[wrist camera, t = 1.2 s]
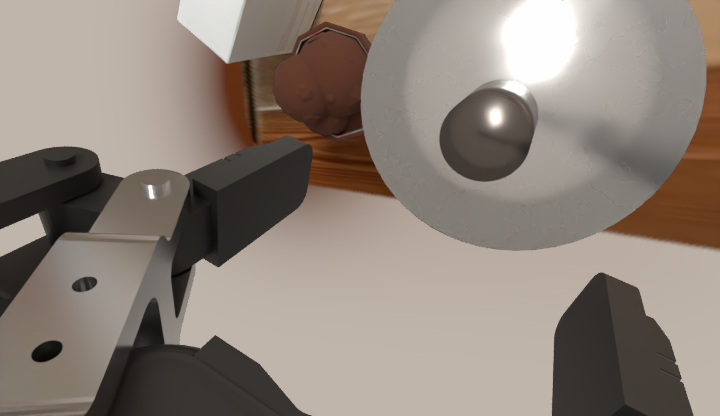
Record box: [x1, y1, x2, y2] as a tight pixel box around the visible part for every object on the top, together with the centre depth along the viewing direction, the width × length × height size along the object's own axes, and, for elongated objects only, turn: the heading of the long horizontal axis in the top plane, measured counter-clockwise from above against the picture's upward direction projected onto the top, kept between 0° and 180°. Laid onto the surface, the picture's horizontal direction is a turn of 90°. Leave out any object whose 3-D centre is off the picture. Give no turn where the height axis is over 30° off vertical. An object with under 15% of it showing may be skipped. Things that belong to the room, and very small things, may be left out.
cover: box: [361, 0, 706, 251], centre depth 26 cm, size 17×17×24 cm
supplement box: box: [177, 0, 322, 64], centre depth 39 cm, size 7×7×13 cm
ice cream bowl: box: [273, 22, 371, 142], centre depth 37 cm, size 11×11×15 cm
